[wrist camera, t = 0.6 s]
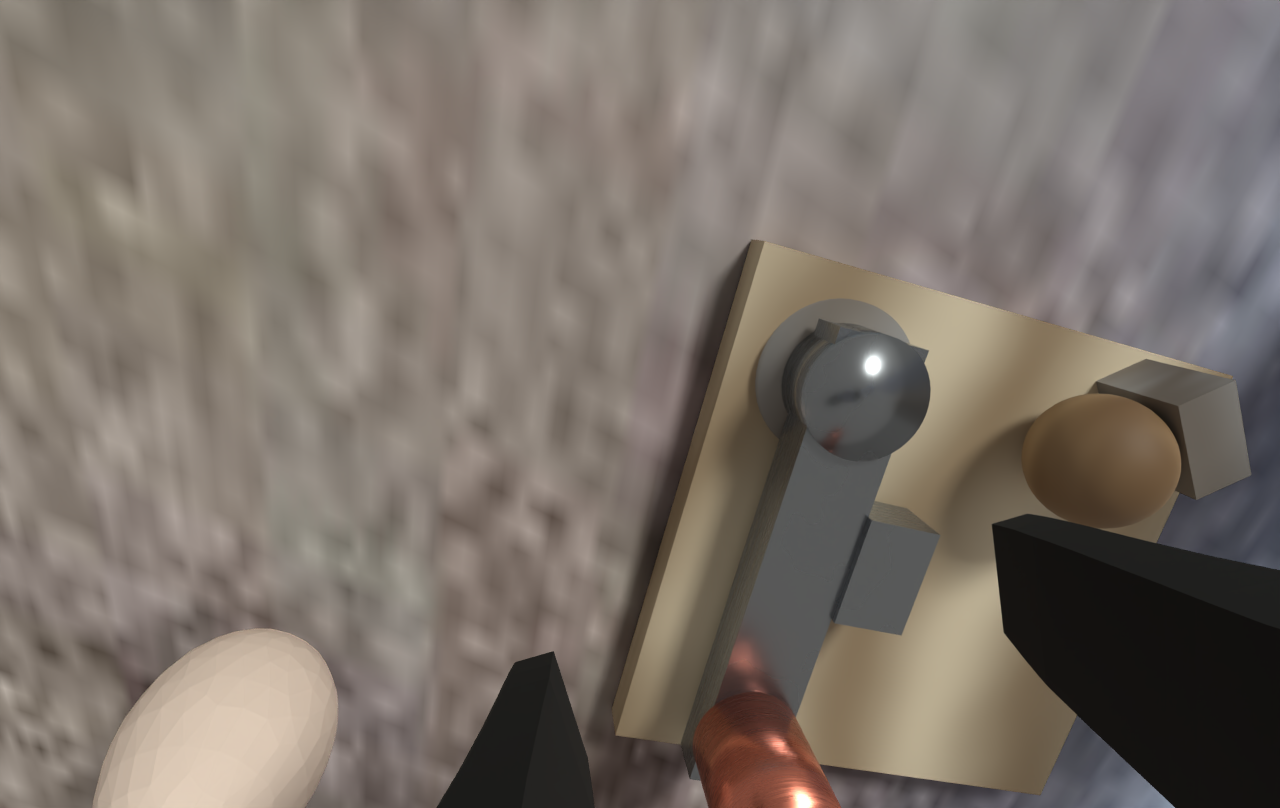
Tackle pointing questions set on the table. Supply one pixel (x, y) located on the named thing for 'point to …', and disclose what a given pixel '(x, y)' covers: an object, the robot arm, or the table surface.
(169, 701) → the egg
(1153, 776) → the robot arm
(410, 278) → the table surface
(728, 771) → the lever
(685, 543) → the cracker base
